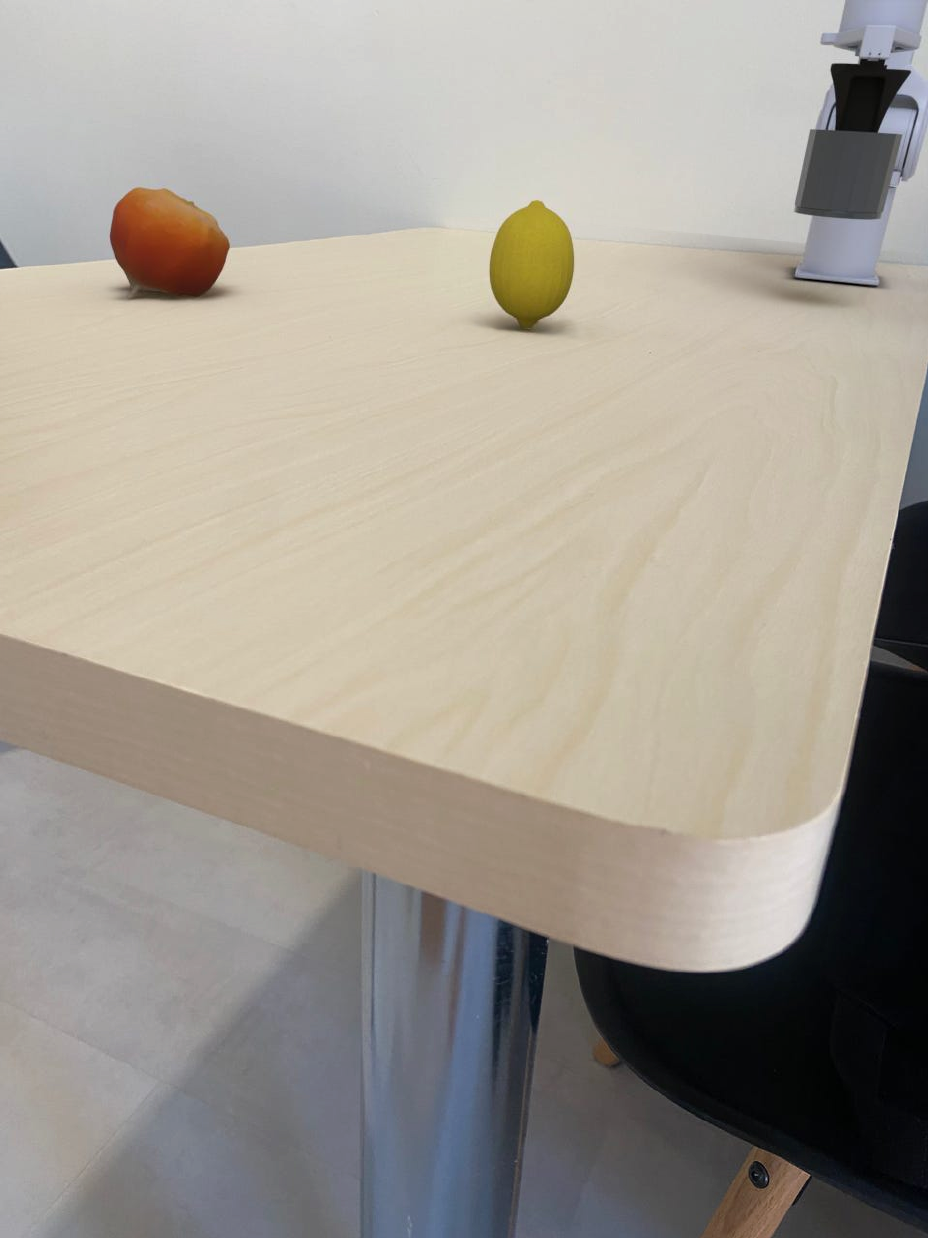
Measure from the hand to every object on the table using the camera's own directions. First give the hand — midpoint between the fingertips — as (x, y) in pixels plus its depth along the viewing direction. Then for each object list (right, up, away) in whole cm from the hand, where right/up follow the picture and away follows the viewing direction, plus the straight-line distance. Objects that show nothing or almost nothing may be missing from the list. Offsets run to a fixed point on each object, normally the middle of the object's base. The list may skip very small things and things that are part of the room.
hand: (846, 171), depth 72 cm
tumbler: (0, -3, +2) cm, 3 cm away
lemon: (-26, -16, -11) cm, 33 cm away
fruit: (-52, -12, -6) cm, 54 cm away
